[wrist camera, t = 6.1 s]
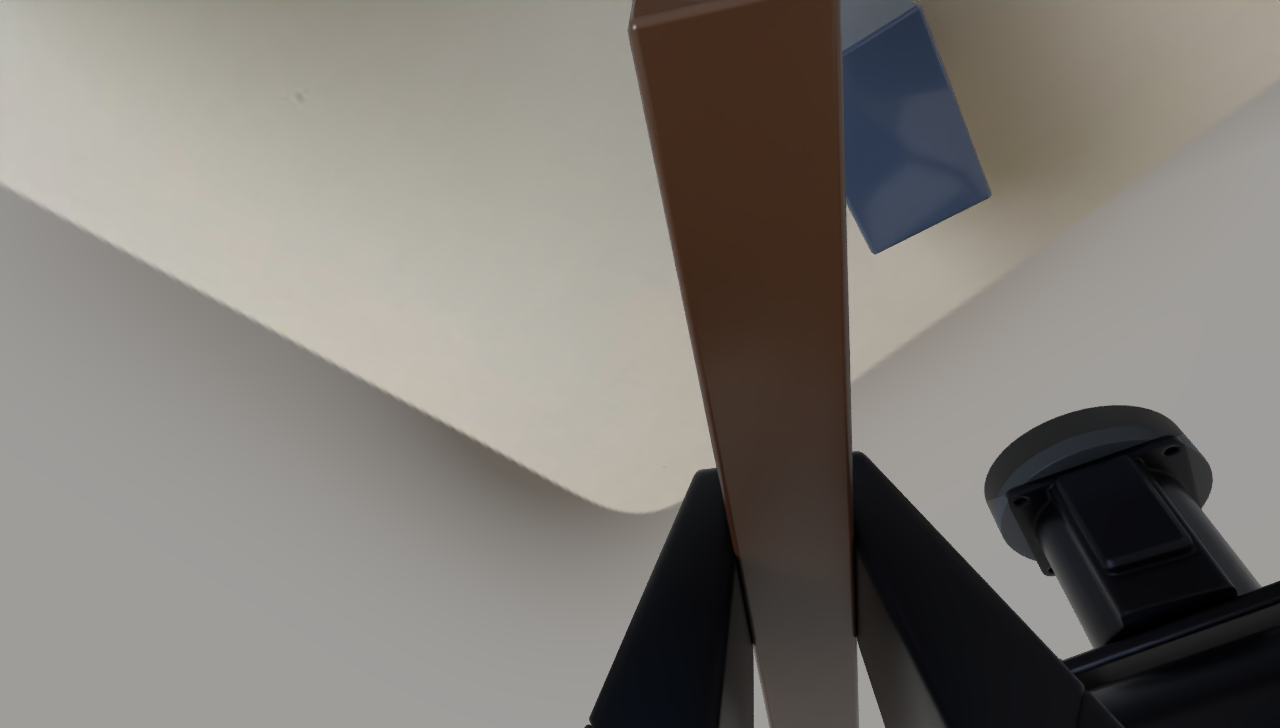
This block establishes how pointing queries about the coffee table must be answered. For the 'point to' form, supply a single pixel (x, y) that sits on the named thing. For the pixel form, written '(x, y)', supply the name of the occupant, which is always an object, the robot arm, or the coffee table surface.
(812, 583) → the brown round-ended long piece
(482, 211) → the coffee table surface
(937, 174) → the slate blue rectangular block
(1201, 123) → the coffee table surface
